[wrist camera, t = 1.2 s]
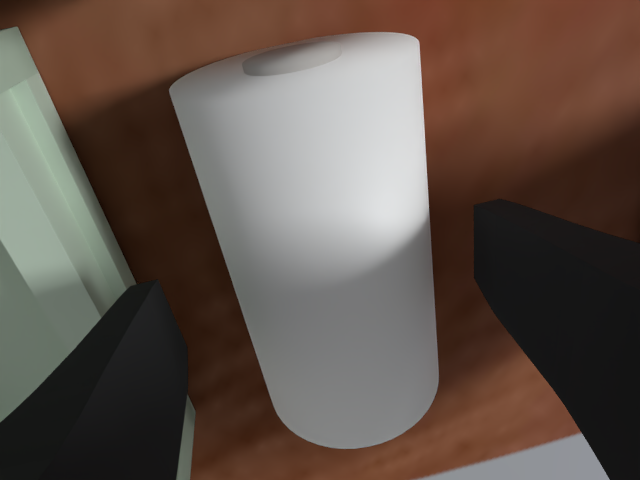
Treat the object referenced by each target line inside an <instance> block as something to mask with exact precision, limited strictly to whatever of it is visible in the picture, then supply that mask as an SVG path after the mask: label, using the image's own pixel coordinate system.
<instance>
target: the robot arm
mask: <svg viewBox="0 0 640 480" xmlns="http://www.w3.org/2000/svg"><path fill="white" fill-rule="evenodd" d="M474 279H475V280H476V282H477V284H478V286H479V288H480V290H481V291H482V293H483V295H484V297H485V299H486V300H487V302H488V304H489V305H490V307H491V309H492V310H493V312H494V314H495V315H496V316H497V318H498V319H499V320H500V322H501V323H502V324H503V325H504V327H505V328H506V329H507V331H508V332H509V333H510V335H511V336H512V337H513V339H514V340H515V341H516V342H517V344H518V345H519V346H520V347H521V349H522V350H523V351H524V353H525V354H526V355H527V356H528V358H529V359H530V360H531V362H532V363H533V364H534V365H535V367H536V368H537V369H538V370H539V372H540V373H541V374H542V376H543V377H544V378H545V379H546V381H547V382H548V383H549V385H550V386H551V387H552V388H553V390H554V391H555V393H556V394H557V395H558V397H559V398H560V400H561V401H562V402H563V404H564V405H565V407H566V408H567V410H568V412H569V413H570V415H571V416H572V418H573V420H574V421H575V423H576V424H577V426H578V428H579V429H580V431H581V432H582V434H583V435H584V437H585V439H586V440H587V442H588V443H589V445H590V447H591V448H592V450H593V452H594V453H595V455H596V457H597V459H598V460H599V462H600V464H601V465H602V467H603V469H604V470H605V472H606V474H607V475H608V477H609V479H610V480H640V243H637V242H633V241H630V240H626V239H623V238H619V237H616V236H613V235H609V234H606V233H603V232H600V231H596V230H593V229H590V228H587V227H584V226H581V225H578V224H575V223H572V222H569V221H566V220H564V219H561V218H558V217H555V216H552V215H549V214H546V213H543V212H541V211H538V210H535V209H532V208H529V207H526V206H523V205H520V204H517V203H513V202H510V201H506V200H502V199H497V200H493V201H489V202H485V203H480V204H476V205H474ZM187 392H188V350H187V346H186V343H185V341H184V339H183V336H182V334H181V332H180V329H179V327H178V325H177V322H176V320H175V318H174V316H173V313H172V311H171V309H170V306H169V304H168V302H167V299H166V297H165V295H164V292H163V290H162V288H161V285H160V283H159V281H158V280H154V281H149V282H145V283H141V284H137V285H132V286H130V287H129V288H128V289H127V290H126V291H125V292H124V293H123V294H122V295H121V296H120V297H119V298H118V299H117V300H116V302H115V303H114V304H113V305H112V306H111V307H110V308H109V310H108V311H107V312H106V313H105V314H104V315H103V317H102V318H101V319H100V320H99V321H98V322H97V324H96V325H95V326H94V327H93V328H92V329H91V330H90V332H89V333H88V334H87V335H86V336H85V337H84V338H83V340H82V341H81V342H80V343H79V344H78V345H77V346H76V348H75V349H74V350H73V351H72V352H71V353H70V354H69V355H68V356H67V357H66V358H65V359H64V360H63V361H62V362H61V363H60V365H59V366H58V367H57V368H56V369H55V370H54V371H53V372H52V373H51V374H50V375H49V376H48V377H47V378H46V379H45V380H44V381H43V382H42V383H41V384H40V385H39V387H38V388H37V389H36V390H35V391H34V392H32V393H31V394H30V395H29V396H28V397H27V398H26V399H25V400H24V401H23V402H22V403H21V404H20V405H19V406H18V407H17V408H16V409H15V410H14V411H12V412H11V413H10V414H9V415H8V416H7V417H6V418H5V419H4V420H2V421H1V422H0V480H176V478H177V470H178V463H179V455H180V448H181V440H182V433H183V425H184V417H185V409H186V401H187Z"/></svg>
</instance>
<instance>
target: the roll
mask: <svg viewBox="0 0 640 480" xmlns="http://www.w3.org/2000/svg"><path fill="white" fill-rule="evenodd" d="M169 93H170V96H171V99H172V102H173V105H174V108H175V111H176V114H177V117H178V120H179V123H180V126H181V130H182V133H183V136H184V139H185V142H186V145H187V148H188V151H189V154H190V157H191V160H192V163H193V166H194V169H195V172H196V175H197V178H198V181H199V184H200V187H201V190H202V193H203V196H204V199H205V202H206V205H207V208H208V211H209V214H210V217H211V220H212V223H213V226H214V229H215V232H216V235H217V238H218V241H219V244H220V247H221V250H222V253H223V256H224V259H225V262H226V265H227V268H228V271H229V274H230V277H231V280H232V283H233V286H234V289H235V292H236V295H237V298H238V301H239V304H240V307H241V310H242V313H243V316H244V319H245V322H246V325H247V328H248V331H249V334H250V337H251V340H252V343H253V346H254V349H255V352H256V355H257V358H258V361H259V364H260V367H261V370H262V373H263V376H264V379H265V382H266V385H267V388H268V391H269V394H270V397H271V400H272V403H273V407H274V409H275V411H276V413H277V415H278V416H279V418H280V419H281V421H282V422H283V423H284V424H285V425H286V426H287V427H288V428H289V429H290V430H291V431H292V432H294V433H295V434H296V435H298V436H300V437H301V438H303V439H305V440H307V441H309V442H312V443H315V444H317V445H321V446H325V447H330V448H339V449H356V448H363V447H369V446H373V445H377V444H381V443H383V442H386V441H388V440H391V439H393V438H395V437H397V436H399V435H401V434H402V433H404V432H405V431H407V430H408V429H410V428H411V427H412V426H414V425H415V424H416V423H417V422H418V421H419V420H420V419H421V418H422V417H423V416H424V414H425V413H426V412H427V411H428V409H429V407H430V406H431V404H432V402H433V400H434V398H435V395H436V392H437V388H438V383H439V368H438V351H437V334H436V317H435V300H434V283H433V266H432V249H431V232H430V215H429V198H428V181H427V165H426V148H425V131H424V114H423V97H422V80H421V63H420V46H419V41H418V39H416V38H415V37H413V36H410V35H406V34H401V33H391V32H365V33H350V34H340V35H332V36H324V37H317V38H311V39H306V40H301V41H296V42H292V43H287V44H282V45H277V46H273V47H268V48H263V49H258V50H254V51H250V52H246V53H243V54H239V55H236V56H233V57H229V58H226V59H223V60H220V61H217V62H214V63H212V64H209V65H206V66H204V67H201V68H199V69H197V70H195V71H192V72H190V73H188V74H186V75H185V76H183V77H181V78H180V79H178V80H177V81H176V82H174V83H173V84H172V85H171V87H170V89H169Z"/></svg>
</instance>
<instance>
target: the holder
mask: <svg viewBox="0 0 640 480" xmlns="http://www.w3.org/2000/svg"><path fill="white" fill-rule="evenodd" d="M132 285H137V284H136V282H135V280H134V277H133V275H132V273H131V271H130V269H129V267H128V264H127V262H126V260H125V258H124V256H123V254H122V251H121V249H120V247H119V245H118V243H117V241H116V238H115V236H114V234H113V232H112V230H111V228H110V226H109V223H108V221H107V219H106V217H105V215H104V213H103V210H102V208H101V206H100V204H99V202H98V200H97V197H96V195H95V193H94V191H93V189H92V187H91V184H90V182H89V180H88V178H87V176H86V174H85V171H84V169H83V167H82V165H81V163H80V161H79V159H78V156H77V154H76V152H75V150H74V148H73V146H72V143H71V141H70V139H69V137H68V135H67V133H66V130H65V128H64V126H63V124H62V122H61V120H60V117H59V115H58V113H57V111H56V109H55V107H54V104H53V102H52V100H51V98H50V96H49V94H48V92H47V89H46V87H45V85H44V83H43V81H42V79H41V76H40V74H39V72H38V70H37V68H36V66H35V63H34V61H33V59H32V57H31V55H30V53H29V50H28V48H27V46H26V44H25V42H24V40H23V37H22V35H21V33H20V31H19V29H18V27H12V28H7V29H2V30H0V422H1V421H2V420H4V419H5V418H6V417H7V416H8V415H9V414H10V413H11V412H12V411H14V410H15V409H16V408H17V407H18V406H19V405H20V404H21V403H22V402H23V401H24V400H25V399H26V398H27V397H28V396H29V395H30V394H31V393H32V392H34V391H35V390H36V389H37V388H38V387H39V385H40V384H41V383H42V382H43V381H44V380H45V379H46V378H47V377H48V376H49V375H50V374H51V373H52V372H53V371H54V370H55V369H56V368H57V367H58V366H59V365H60V363H61V362H62V361H63V360H64V359H65V358H66V357H67V356H68V355H69V354H70V353H71V352H72V351H73V350H74V349H75V348H76V346H77V345H78V344H79V343H80V342H81V341H82V340H83V338H84V337H85V336H86V335H87V334H88V333H89V332H90V330H91V329H92V328H93V327H94V326H95V325H96V324H97V322H98V321H99V320H100V319H101V318H102V317H103V315H104V314H105V313H106V312H107V311H108V310H109V308H110V307H111V306H112V305H113V304H114V303H115V302H116V300H117V299H118V298H119V297H120V296H121V295H122V294H123V293H124V292H125V291H126V290H127V289H128V288H129V287H130V286H132ZM195 413H196V411H195V409H194V407H193V405H192V403H191V401H190V398H189V396H188V394H187V401H186V409H185V417H184V425H183V433H182V440H181V448H180V455H179V463H178V470H177V478H176V480H190V473H191V461H192V449H193V437H194V425H195Z"/></svg>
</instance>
